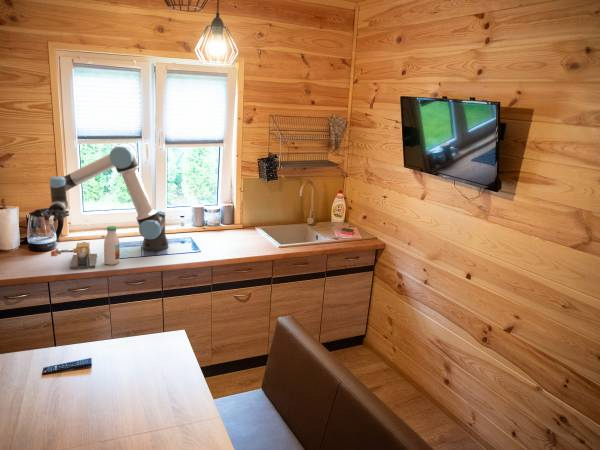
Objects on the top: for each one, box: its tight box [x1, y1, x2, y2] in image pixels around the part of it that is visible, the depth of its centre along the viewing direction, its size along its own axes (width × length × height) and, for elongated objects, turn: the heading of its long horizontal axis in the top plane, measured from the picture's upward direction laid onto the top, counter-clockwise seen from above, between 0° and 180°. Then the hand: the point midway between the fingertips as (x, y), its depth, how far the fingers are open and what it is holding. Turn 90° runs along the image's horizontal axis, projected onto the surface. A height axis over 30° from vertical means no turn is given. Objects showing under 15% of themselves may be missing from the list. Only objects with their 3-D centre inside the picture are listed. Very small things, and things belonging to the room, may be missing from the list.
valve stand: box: [69, 241, 98, 270], centre depth 247 cm, size 12×19×10 cm, turn 20°
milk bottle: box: [103, 225, 120, 265], centre depth 248 cm, size 8×8×20 cm
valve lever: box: [50, 248, 74, 258], centre depth 236 cm, size 8×3×18 cm
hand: (50, 221), depth 223 cm, fingers closed
